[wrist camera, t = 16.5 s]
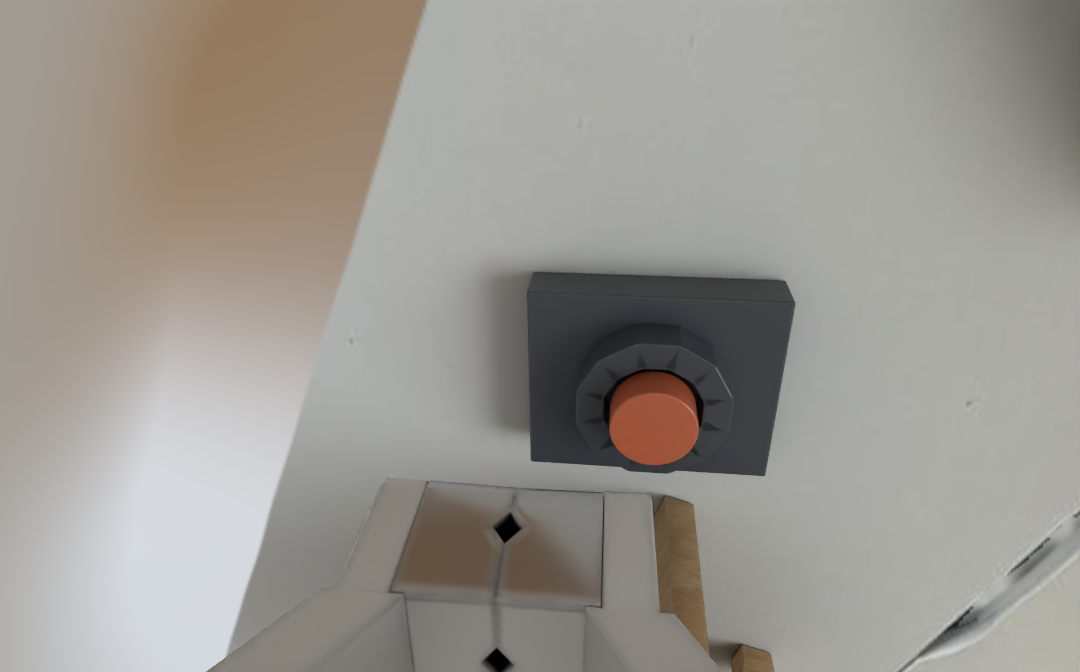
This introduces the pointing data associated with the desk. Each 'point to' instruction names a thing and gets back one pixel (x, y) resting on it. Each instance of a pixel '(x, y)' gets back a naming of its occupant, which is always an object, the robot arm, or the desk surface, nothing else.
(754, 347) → the dark grey base plate
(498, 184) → the desk surface
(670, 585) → the planter
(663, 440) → the button
